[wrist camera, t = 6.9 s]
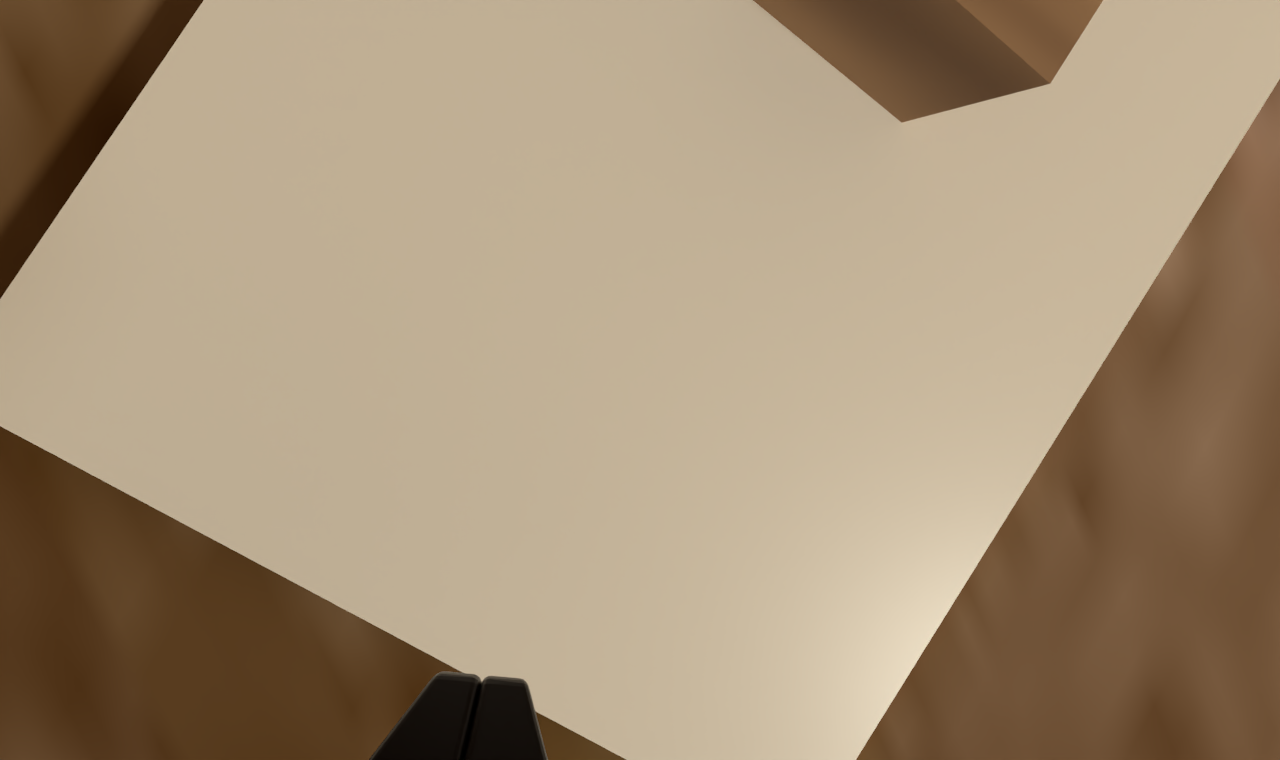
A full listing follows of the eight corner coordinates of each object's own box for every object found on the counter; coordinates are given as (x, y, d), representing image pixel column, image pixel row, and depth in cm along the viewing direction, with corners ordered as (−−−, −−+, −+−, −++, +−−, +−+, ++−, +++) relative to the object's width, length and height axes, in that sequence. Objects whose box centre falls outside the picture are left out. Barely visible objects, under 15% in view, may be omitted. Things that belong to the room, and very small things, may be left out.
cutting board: (787, 835, 22) (798, 851, 21) (-49, 387, 17) (-63, 391, 16) (1317, -15, 22) (1342, -22, 22) (675, -677, 18) (685, -709, 17)
